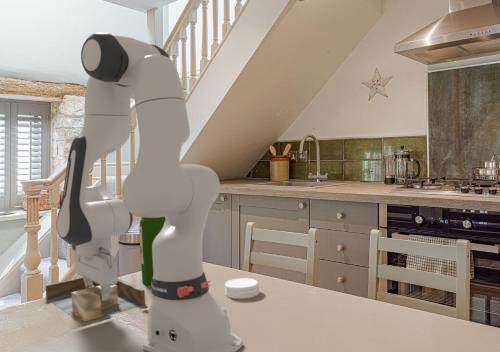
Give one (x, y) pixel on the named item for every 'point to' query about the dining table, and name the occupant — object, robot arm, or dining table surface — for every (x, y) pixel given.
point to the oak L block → (92, 301)
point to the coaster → (242, 288)
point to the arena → (62, 290)
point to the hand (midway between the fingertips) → (97, 295)
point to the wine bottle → (148, 245)
